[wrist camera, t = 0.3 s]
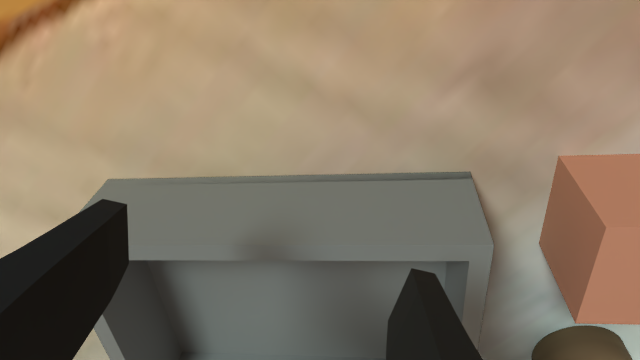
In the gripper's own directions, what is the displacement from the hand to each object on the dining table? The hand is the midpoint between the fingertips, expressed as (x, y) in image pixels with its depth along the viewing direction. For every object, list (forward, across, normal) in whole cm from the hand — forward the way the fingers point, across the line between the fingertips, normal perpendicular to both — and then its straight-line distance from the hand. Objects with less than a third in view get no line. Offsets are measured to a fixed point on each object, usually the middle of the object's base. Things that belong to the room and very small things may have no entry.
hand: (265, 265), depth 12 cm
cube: (+10, -14, +1) cm, 17 cm away
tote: (+10, -1, +10) cm, 14 cm away
